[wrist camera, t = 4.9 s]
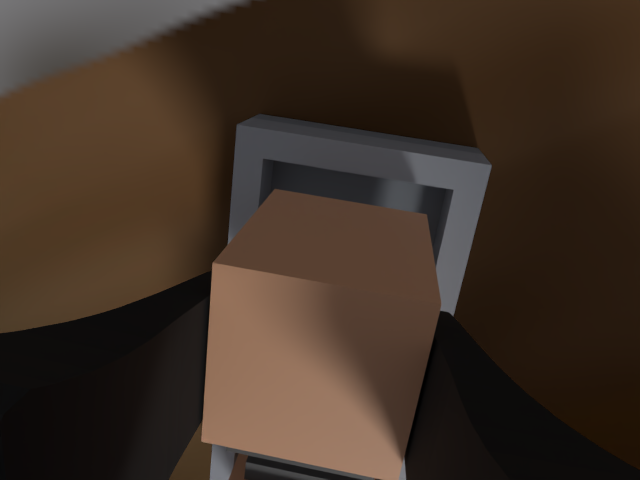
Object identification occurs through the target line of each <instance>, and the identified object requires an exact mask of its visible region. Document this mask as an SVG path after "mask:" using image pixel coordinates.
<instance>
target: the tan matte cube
mask: <svg viewBox="0 0 640 480" xmlns="http://www.w3.org/2000/svg"><path fill="white" fill-rule="evenodd" d="M441 305H442V304H441V298H440V291H439V285H438V279H437V273H436V267H435V261H434V255H433V249H432V243H431V237H430V231H429V225H428V219H427V214H422V213H416V212H410V211H404V210H398V209H392V208H386V207H380V206H374V205H368V204H362V203H356V202H350V201H344V200H338V199H333V198H327V197H321V196H315V195H309V194H303V193H297V192H291V191H285V190H279V189H274V190H273V192H272V193H271V194H270V195H269V196H268V198H267V199H266V200H265V201H264V202H263V203H262V205H261V206H260V207H259V208H258V209H257V211H256V212H255V213H254V214H253V215H252V217H251V218H250V219H249V220H248V221H247V222H246V224H245V225H244V226H243V227H242V228H241V230H240V231H239V232H238V233H237V234H236V236H235V237H234V238H233V239H232V240H231V241H230V243H229V244H228V245H227V246H226V247H225V249H224V250H223V251H222V252H221V253H220V255H219V256H218V257H217V258H216V259H215V260H214V262H213V265H212V281H211V297H210V313H209V329H208V345H207V361H206V377H205V393H204V409H203V425H202V441H201V442H206V443H211V444H216V445H220V446H225V447H226V451H230V452H234V453H239V454H244V455H249V456H253V457H258V458H263V459H267V460H272V461H277V462H282V463H286V464H291V465H296V466H301V467H305V468H310V469H315V470H319V471H324V472H329V473H334V474H338V475H343V476H348V477H352V478H357V479H362V480H374V478H377V479H381V480H399V476H400V472H401V467H402V463H403V459H404V455H405V451H406V447H407V443H408V439H409V435H410V431H411V427H412V423H413V419H414V415H415V411H416V406H417V402H418V398H419V394H420V390H421V386H422V382H423V378H424V374H425V370H426V366H427V362H428V358H429V354H430V350H431V346H432V341H433V337H434V333H435V329H436V325H437V321H438V317H439V313H440V309H441Z"/></svg>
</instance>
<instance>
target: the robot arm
mask: <svg viewBox="0 0 640 480" xmlns="http://www.w3.org/2000/svg"><path fill="white" fill-rule="evenodd" d="M211 281H212V271H210V272H207V273H204V274H202V275H199V276H197V277H195V278H192V279H190V280H188V281H185V282H183V283H181V284H178V285H176V286H174V287H171V288H169V289H166V290H164V291H162V292H159V293H157V294H154V295H152V296H149V297H146V298H144V299H141V300H138V301H135V302H133V303H130V304H127V305H125V306H122V307H119V308H116V309H113V310H110V311H106V312H103V313H100V314H96V315H92V316H89V317H85V318H81V319H77V320H73V321H69V322H64V323H59V324H54V325H48V326H43V327H38V328H32V329H27V330H22V331H15V332H8V333H0V480H169V478H170V476H171V474H172V472H173V470H174V468H175V466H176V464H177V463H178V461H179V459H180V457H181V456H182V454H183V452H184V450H185V449H186V447H187V445H188V444H189V442H190V440H191V438H192V437H193V435H194V433H195V432H196V430H197V428H198V426H199V425H200V423H201V421H202V420H203V409H204V393H205V377H206V361H207V345H208V329H209V313H210V297H211ZM404 460H405V472H406V480H640V470H638V469H636V468H634V467H633V466H631V465H629V464H627V463H625V462H624V461H622V460H620V459H619V458H617V457H615V456H614V455H612V454H610V453H609V452H607V451H605V450H604V449H602V448H601V447H599V446H598V445H596V444H595V443H593V442H592V441H590V440H589V439H587V438H586V437H584V436H583V435H581V434H580V433H578V432H577V431H575V430H574V429H572V428H571V427H569V426H568V425H566V424H565V423H564V422H562V421H561V420H560V419H558V418H557V417H555V416H554V415H553V414H552V413H550V412H549V411H548V410H547V409H545V408H544V407H543V406H542V405H540V404H539V403H538V402H537V401H535V400H534V399H533V398H532V397H530V396H529V395H528V394H527V393H526V392H525V391H524V390H522V389H521V388H520V387H519V386H518V385H517V384H516V383H515V382H514V381H513V380H512V379H511V378H510V377H509V376H508V375H506V374H505V373H504V372H503V371H502V370H501V369H500V368H499V367H498V366H497V365H496V364H495V363H494V362H493V361H492V359H491V358H490V357H489V356H488V355H487V354H486V353H485V352H484V351H483V350H482V349H481V348H480V346H479V345H478V344H477V343H476V342H475V341H474V340H473V339H472V337H471V336H470V335H469V334H468V333H467V332H466V330H465V329H464V328H463V327H462V326H461V325H460V323H459V322H458V321H457V320H456V319H455V318H454V317H453V316H452V315H451V314H450V313H449V312H445V311H440V313H439V317H438V321H437V325H436V329H435V333H434V337H433V341H432V346H431V350H430V354H429V358H428V362H427V366H426V370H425V374H424V378H423V382H422V386H421V390H420V394H419V398H418V402H417V406H416V411H415V415H414V419H413V423H412V427H411V431H410V435H409V439H408V443H407V447H406V451H405V455H404Z"/></svg>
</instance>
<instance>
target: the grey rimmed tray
mask: <svg viewBox="0 0 640 480" xmlns="http://www.w3.org/2000/svg"><path fill="white" fill-rule="evenodd" d="M491 167H492V165H491V163H490V162H489V161H488V160H487V158H486V157H485V156H484V155H483V153H482V152H481V151H480V150H479V148H474V147H468V146H461V145H455V144H449V143H442V142H436V141H430V140H423V139H417V138H410V137H404V136H398V135H391V134H385V133H379V132H372V131H366V130H360V129H353V128H347V127H340V126H334V125H328V124H321V123H315V122H309V121H302V120H296V119H290V118H283V117H277V116H270V115H264V114H258V115H256V116H254V117H252V118H250V119H248V120H245V121H243V122H241V123H239V124H237V129H236V142H235V155H234V168H233V181H232V194H231V208H230V221H229V234H228V244H229V243H230V241H231V240H232V239H233V238H234V237H235V236H236V234H237V233H238V232H239V231H240V230H241V228H242V227H243V226H244V225H245V224H246V222H247V221H248V220H249V219H250V218H251V217H252V215H253V214H254V213H255V212H256V211H257V209H258V208H259V207H260V206H261V205H262V203H263V202H264V201H265V200H266V199H267V198H268V196H269V195H270V194H271V193H272V192H273V190H274V189H279V190H285V191H291V192H297V193H303V194H309V195H315V196H321V197H327V198H333V199H338V200H344V201H350V202H356V203H362V204H368V205H374V206H380V207H386V208H392V209H398V210H404V211H410V212H416V213H422V214H427V219H428V225H429V231H430V237H431V243H432V249H433V255H434V261H435V267H436V273H437V279H438V285H439V291H440V298H441V304H442V305H441V309H440V311H445V312H449V313H450V314H451V315H452V316H454V312H455V308H456V304H457V300H458V296H459V292H460V288H461V285H462V281H463V277H464V273H465V269H466V265H467V261H468V257H469V253H470V249H471V245H472V241H473V237H474V234H475V230H476V226H477V222H478V218H479V214H480V210H481V206H482V202H483V198H484V194H485V190H486V187H487V183H488V179H489V175H490V171H491ZM210 480H362V479H357V478H352V477H348V476H343V475H338V474H334V473H329V472H324V471H319V470H315V469H310V468H305V467H301V466H296V465H291V464H286V463H282V462H277V461H272V460H267V459H263V458H258V457H253V456H249V455H244V454H239V453H234V452H230V451H226V447H225V446H220V445H216V444H213V445H212V458H211V471H210ZM374 480H381V479H377V478H374ZM399 480H406V472H405V460H404V459H403V463H402V467H401V472H400V476H399Z"/></svg>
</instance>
